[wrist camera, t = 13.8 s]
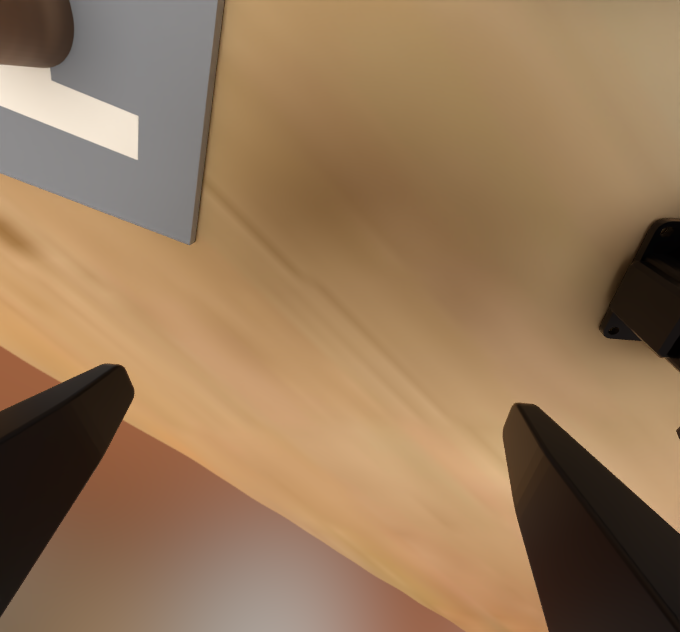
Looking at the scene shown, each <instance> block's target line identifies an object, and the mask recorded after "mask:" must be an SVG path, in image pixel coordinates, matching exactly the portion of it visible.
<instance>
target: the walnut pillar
mask: <svg viewBox="0 0 680 632" xmlns="http://www.w3.org/2000/svg"><path fill="white" fill-rule="evenodd" d="M73 38H74V21H73V15H72V10H71V6H70V2H69V0H0V65H12V66H24V67H36V68H50V67H54V66H56V65H59V64H60V63H61V62H63V61H64V60H65V58H66V57H67V56H68V54H69V52H70V50H71V47H72V43H73Z"/></svg>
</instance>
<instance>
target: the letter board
mask: <svg viewBox="0 0 680 632" xmlns="http://www.w3.org/2000/svg"><path fill="white" fill-rule="evenodd" d="M224 1H225V0H69V2H70V6H71V10H72V15H73V21H74V38H73V43H72V47H71V50H70V52H69V54H68V56H67V57H66V58H65V60H64V61H63V62H61V63H60V64H59V65H56V66H54V67H50V68H36V67H24V66H12V65H0V173H1V174H4V175H7V176H9V177H12V178H15V179H17V180H20V181H22V182H25V183H28V184H30V185H33V186H36V187H38V188H41V189H43V190H46V191H49V192H51V193H54V194H57V195H59V196H62V197H64V198H67V199H70V200H72V201H75V202H78V203H80V204H83V205H85V206H88V207H91V208H93V209H96V210H99V211H101V212H104V213H106V214H109V215H112V216H114V217H117V218H120V219H122V220H125V221H127V222H130V223H133V224H135V225H138V226H141V227H143V228H146V229H148V230H151V231H154V232H156V233H159V234H162V235H164V236H167V237H169V238H172V239H175V240H177V241H180V242H183V243H185V244H188V245H191V244H192V243H194V242H195V237H196V229H197V221H198V213H199V205H200V197H201V188H202V180H203V172H204V164H205V156H206V148H207V140H208V131H209V123H210V115H211V107H212V99H213V91H214V82H215V74H216V66H217V58H218V50H219V42H220V34H221V25H222V17H223V9H224Z"/></svg>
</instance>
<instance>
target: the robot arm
mask: <svg viewBox="0 0 680 632" xmlns="http://www.w3.org/2000/svg"><path fill="white" fill-rule="evenodd" d="M666 227H668V229H667V231H666V232H665V233H663V234H660V233H661V231H662V230H663V229H664V228H666ZM609 307H610V308H609V310H608V312H607V314H606V316H605V318H604V320H603V322H602V324H601V326H600V332H601V333H602V334H603V335H604V336H605V337H606V338H611V339H624V340H637V341H643V342H644V343H645V344H646V345H647V346H648V347H649V348H650V349H651V350H652V351H653V352H654V353H655V354H656V355H657V356H659V357H661V358H665V359H666V360H667V361H668V362H669V363H670V364H671V365H673V366H674V367H675V368H676V369H677V370H678V371H679V372H680V219H668V218H667V219H661V220H659V221H657V222H655V223H654V224H653V225H652V226H651V227H650V229H649V231H648V233H647V235H646V237H645V239H644V241H643V243H642V245H641V247H640V249H639V251H638V253H637V255H636V257H635V258H634V260H633V262H632V264H631V265H630V266H629V268H628V270H627V272H626V274H625V276H624V278H623V280H622V282H621V284H620V286H619V288H618V290H617V292H616V294H615V296H614V298H613V300H612V302H611V304H610V306H609ZM613 327H615V328H614V329H612V330H610V329H611V328H613ZM609 330H610V331H609ZM133 398H134V388H133V385H132V383H131V381H130V378H129V376H128V374H127V371H126V369H125V368H124V367H123V366H122V365H118V364H102V365H99V366H97V367H95V368H93V369H91V370H89V371H86V372H84V373H82V374H80V375H78V376H76V377H73V378H71V379H69V380H67V381H65V382H63V383H60V384H58V385H56V386H54V387H52V388H50V389H48V390H46V391H43V392H41V393H39V394H37V395H35V396H33V397H30V398H28V399H26V400H24V401H22V402H19V403H17V404H15V405H13V406H11V407H9V408H7V409H4V410H2V411H0V617H1V616H2V614H3V613H4V611H5V609H6V608H7V606H8V605H9V603H10V602H11V600H12V599H13V597H14V596H15V594H16V592H17V591H18V589H19V588H20V586H21V585H22V583H23V582H24V580H25V578H26V577H27V575H28V574H29V572H30V571H31V569H32V567H33V566H34V564H35V563H36V561H37V560H38V558H39V557H40V555H41V553H42V552H43V550H44V549H45V547H46V545H47V544H48V542H49V541H50V539H51V538H52V536H53V535H54V533H55V531H56V530H57V528H58V527H59V525H60V523H61V522H62V521H63V519H64V517H65V516H66V514H67V513H68V511H69V510H70V508H71V507H72V505H73V503H74V502H75V500H76V499H77V497H78V495H79V494H80V492H81V491H82V489H83V488H84V486H85V485H86V483H87V482H88V480H89V478H90V477H91V475H92V474H93V472H94V471H95V469H96V467H97V466H98V464H99V463H100V461H101V459H102V458H103V456H104V454H105V452H106V450H107V448H108V447H109V445H110V443H111V441H112V439H113V437H114V435H115V433H116V431H117V429H118V427H119V425H120V423H121V422H122V420H123V418H124V416H125V414H126V412H127V410H128V408H129V406H130V404H131V402H132V400H133ZM676 432H677V434H678V437H679V439H680V427H679V428H678V429H677V430H676ZM503 442H504V448H505V454H506V460H507V466H508V472H509V478H510V484H511V490H512V496H513V502H514V507H515V511H516V515H517V519H518V523H519V527H520V530H521V534H522V537H523V541H524V545H525V548H526V552H527V555H528V559H529V562H530V566H531V570H532V573H533V577H534V580H535V584H536V587H537V591H538V595H539V598H540V602H541V605H542V609H543V612H544V616H545V620H546V623H547V627H548V630H549V632H680V534H679V533H678V532H677V531H676V530H675V529H673V528H672V527H671V526H670V525H669V524H668V523H667V522H666V521H665V520H663V519H662V518H661V517H660V516H659V515H658V514H657V513H656V512H655V511H653V510H652V509H651V508H650V507H649V506H648V505H647V504H646V503H645V502H643V501H642V500H641V499H640V498H639V497H638V496H637V495H636V494H635V493H633V492H632V491H631V490H630V489H629V488H628V487H627V486H626V485H625V484H623V483H622V482H621V481H620V480H619V479H618V478H617V477H616V476H615V475H613V474H612V473H611V472H610V471H609V470H608V469H607V468H606V467H605V466H603V465H602V464H601V463H600V462H599V461H598V460H597V459H596V458H595V457H593V456H592V455H591V454H590V453H589V452H588V451H587V450H586V449H585V448H583V447H582V446H581V445H580V444H579V443H578V442H577V441H576V440H575V439H573V438H572V437H571V436H570V435H569V434H568V433H567V432H566V431H565V430H563V429H562V428H561V427H560V426H559V425H558V424H557V423H556V422H555V421H553V420H552V419H551V418H550V417H549V416H548V415H547V414H546V413H545V412H543V411H542V410H541V409H540V408H539V407H538V406H536V405H534V404H527V403H515V404H513V406H512V407H511V410H510V412H509V415H508V417H507V420H506V422H505V425H504V428H503Z"/></svg>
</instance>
